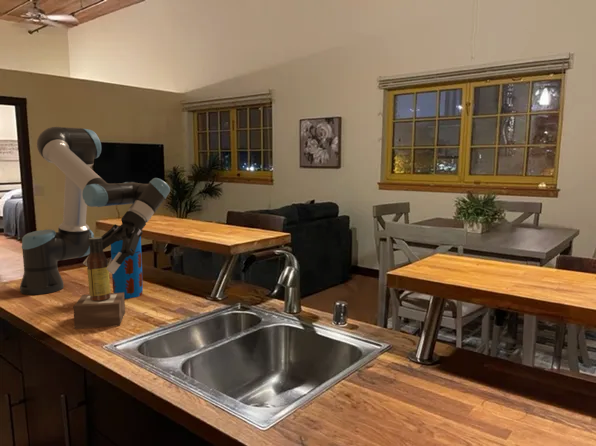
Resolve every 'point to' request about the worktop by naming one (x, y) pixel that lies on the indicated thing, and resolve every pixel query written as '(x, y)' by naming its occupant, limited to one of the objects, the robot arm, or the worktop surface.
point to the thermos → (128, 272)
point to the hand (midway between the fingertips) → (97, 268)
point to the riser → (99, 311)
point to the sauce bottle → (98, 271)
